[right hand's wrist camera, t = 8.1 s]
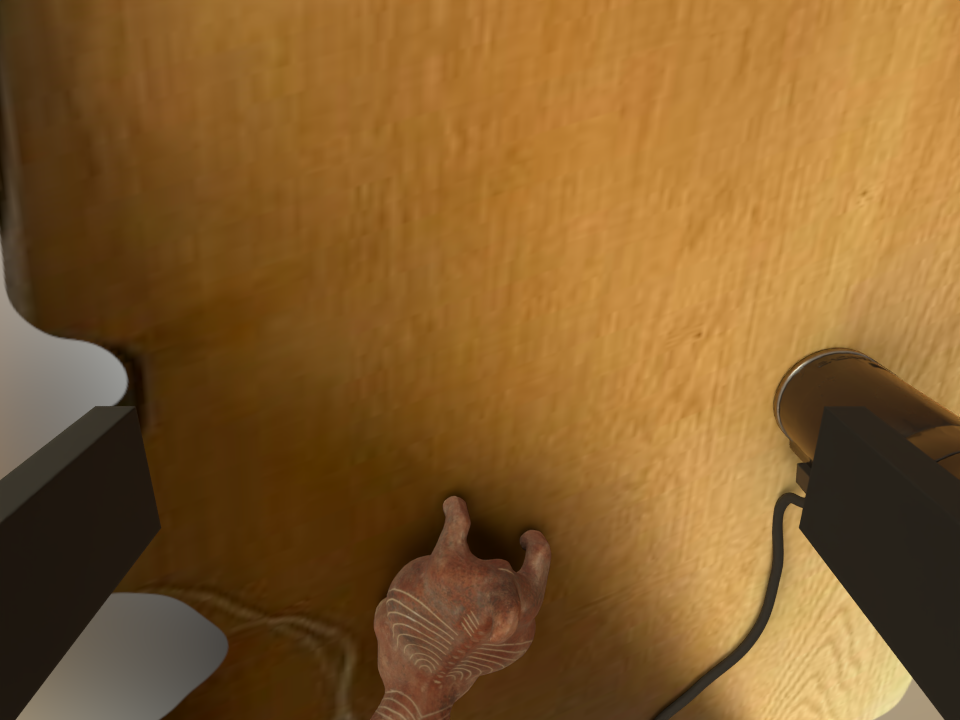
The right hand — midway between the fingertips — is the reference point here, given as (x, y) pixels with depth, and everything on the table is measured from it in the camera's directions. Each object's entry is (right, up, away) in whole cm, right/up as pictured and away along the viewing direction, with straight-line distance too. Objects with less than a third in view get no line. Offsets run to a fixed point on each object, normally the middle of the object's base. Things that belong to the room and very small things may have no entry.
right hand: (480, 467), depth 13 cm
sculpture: (-3, -21, +52) cm, 56 cm away
